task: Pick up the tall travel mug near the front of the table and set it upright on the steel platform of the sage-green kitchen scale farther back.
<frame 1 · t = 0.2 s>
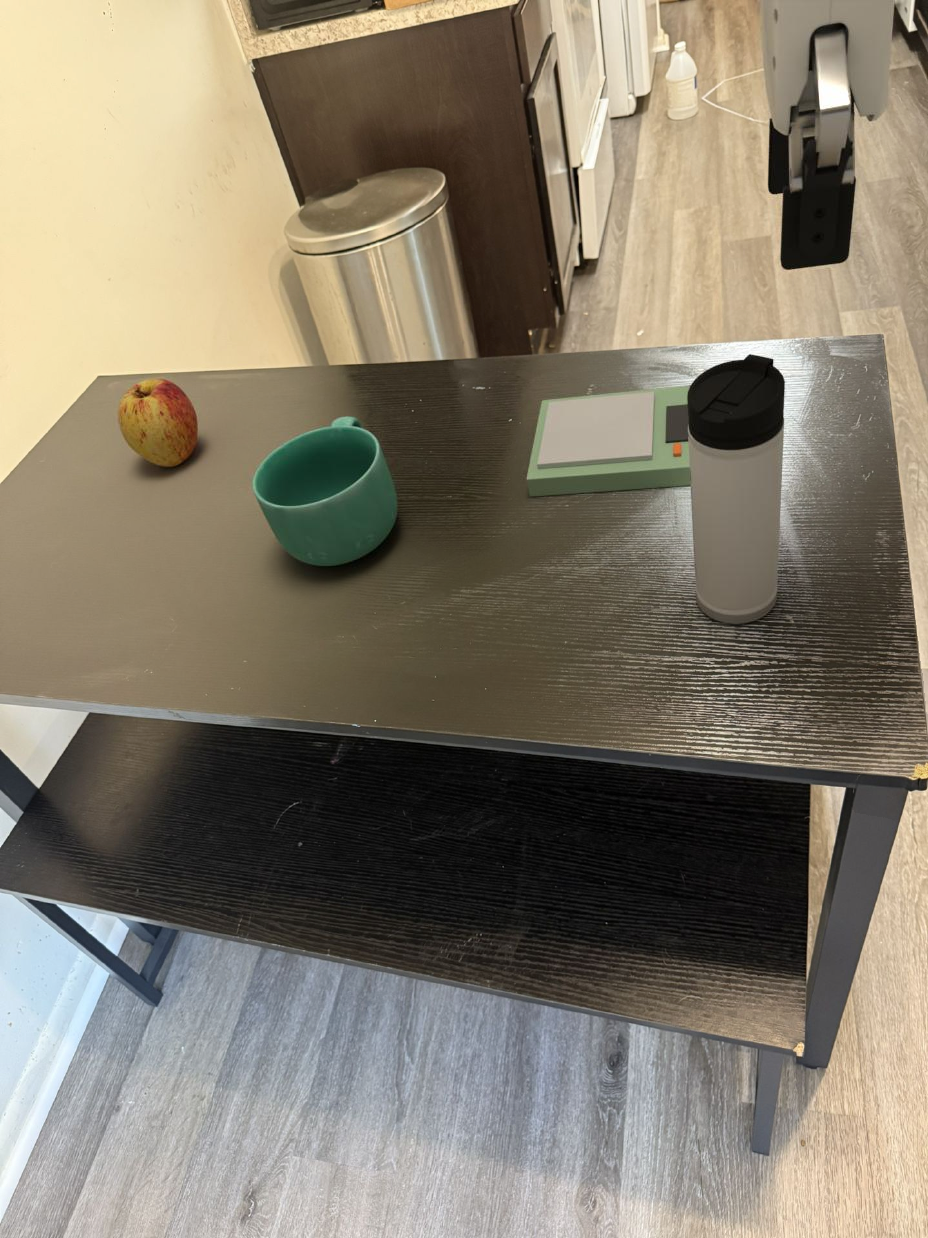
hand: (804, 223, 47), 30 cm above the table, tool pointing down, fingers open, 9 cm apart
travel mug: (737, 598, 70), on the table
apple: (178, 458, 107), on the table
scale: (615, 448, 88), on the table
mug: (354, 529, 89), on the table
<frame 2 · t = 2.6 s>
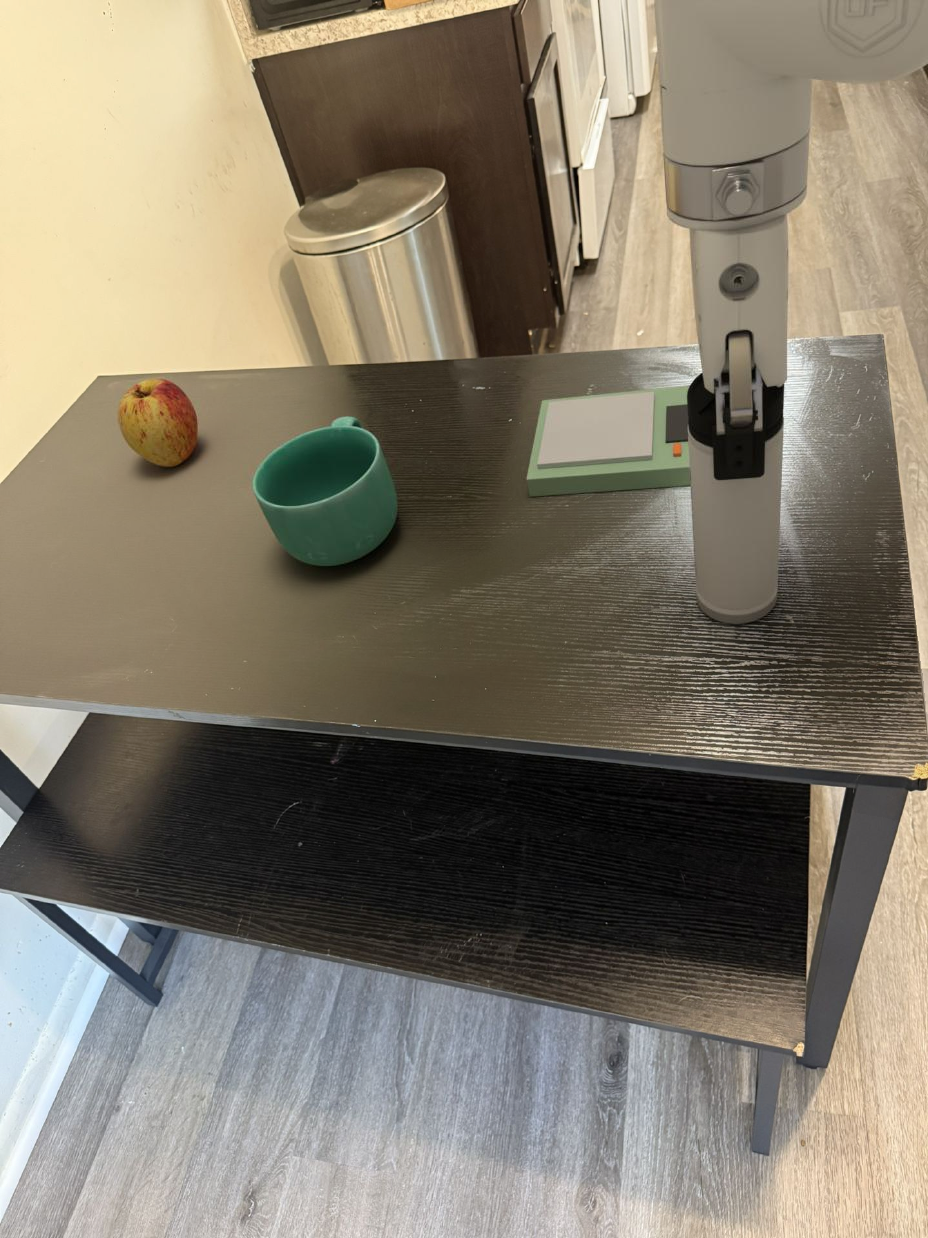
hand: (736, 443, 60), 15 cm above the table, tool pointing down, fingers closed on travel mug, 6 cm apart
travel mug: (737, 598, 70), on the table, touching gripper
everything else where it was.
when the fingers open (18 cm above the table, at t = 10.1 s): travel mug stays where it is, resting on scale.
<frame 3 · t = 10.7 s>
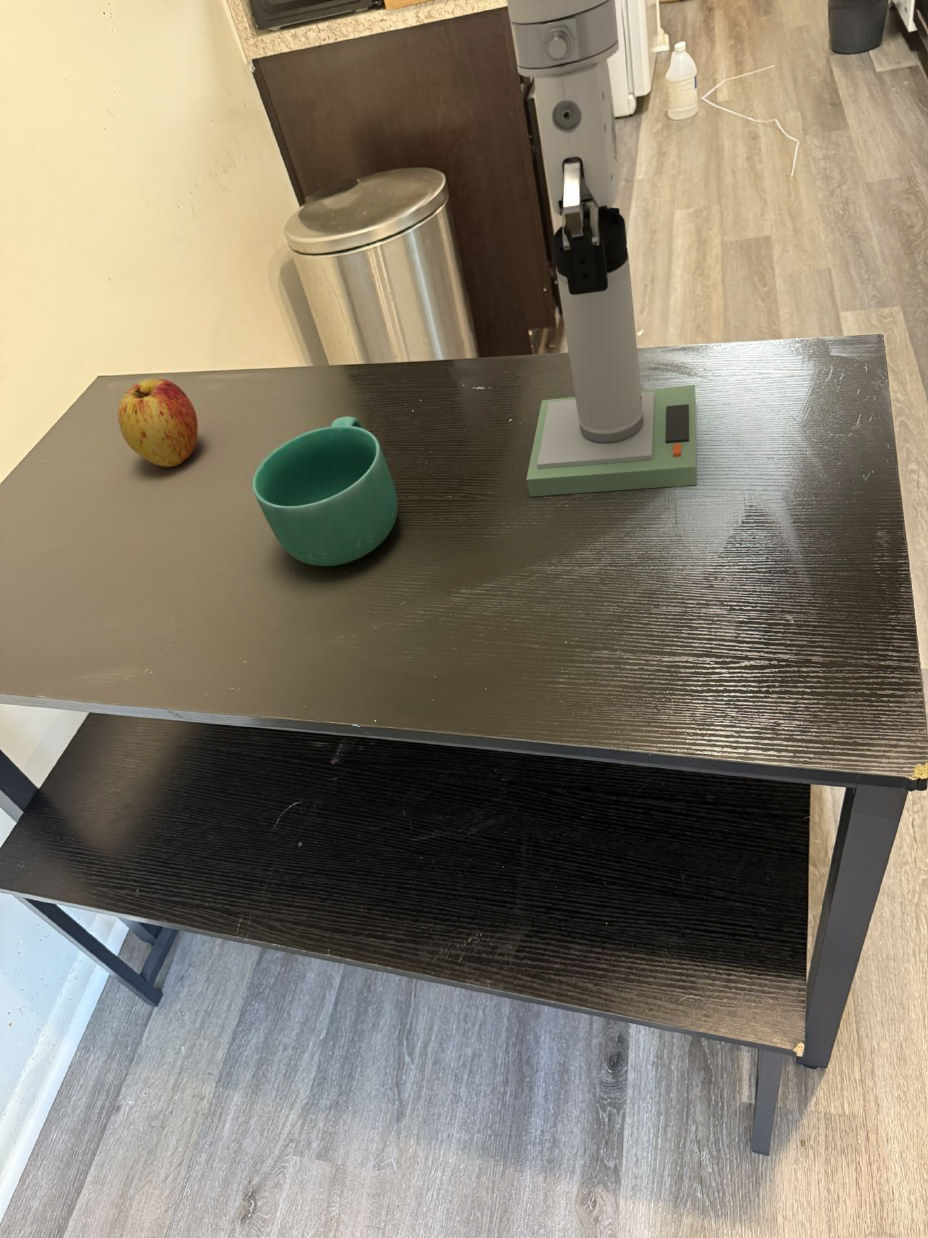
hand: (593, 264, 75), 19 cm above the table, tool pointing down, fingers open, 9 cm apart
travel mug: (612, 426, 86), point 3 cm above the table, touching scale
everything else where it was.
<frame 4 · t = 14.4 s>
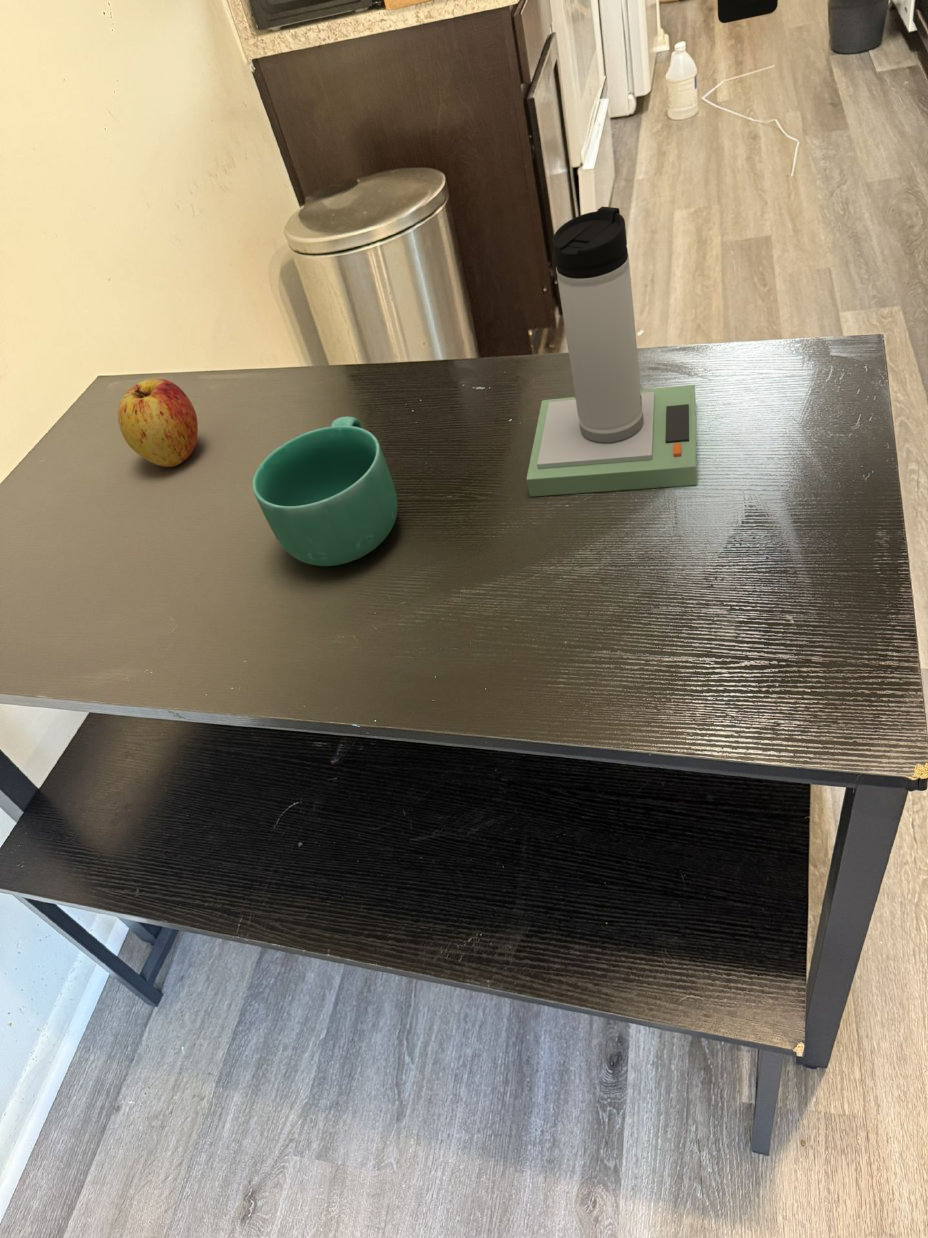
nothing on the table moved.
at the end: travel mug inside the target area on the scale (1.5 cm from its centre), point 2.6 cm above the scale's base; travel mug tilted 0°; the gripper is holding nothing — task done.
